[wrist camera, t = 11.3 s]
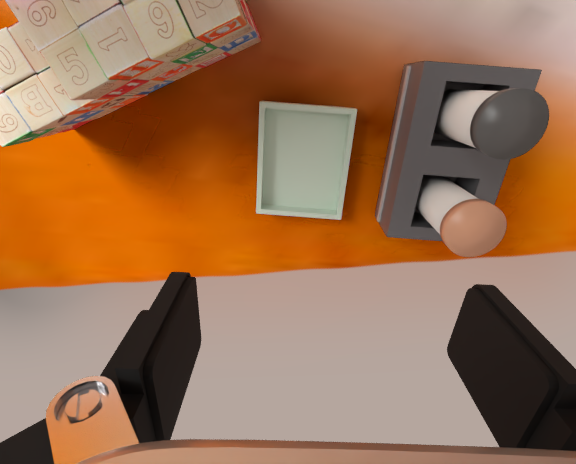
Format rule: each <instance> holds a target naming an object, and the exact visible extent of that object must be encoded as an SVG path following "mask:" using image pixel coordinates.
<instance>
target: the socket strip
mask: <svg viewBox="0 0 576 464" xmlns="http://www.w3.org/2000/svg"><path fill="white" fill-rule="evenodd" d="M541 71H542V70H537V69H524V68H511V67H498V66H485V65H471V64H458V63H445V62H432V61H422V62H416V63H410V64H405V65H404V67H403V73H402V78H401V83H400V88H399V93H398V98H397V103H396V109H395V114H394V119H393V124H392V129H391V134H390V140H389V145H388V150H387V155H386V160H385V165H384V171H383V176H382V181H381V186H380V191H379V196H378V201H377V207H376V212H375V217H376V219H377V221H378V222H379V224H380V226H381V228H382V229H383V231H384V233H385V235H386V236H387V237H395V238H408V239H421V240H434V241H442V239H441V236H440V234H439V233H438V232H437V231H436V230H435V229H434V228H433V227H432V225H431V224H430V223H429V222H428V221H427V220H426V219H425V218H424V217H423V216H422V215H421V214H420V212H419V211H418V210H417V209H416V208H415V207H416V203H417V198H418V194H419V190H420V186H421V182H422V178H423V175H435V176H444V177H446V178H447V179H449V180H450V181H452V182H453V183H455V184H456V185H458V186H460V187H461V188H463V189H464V190H466V191H467V192H469V193H470V194H472V195H473V196H475V197H477V198H478V199H482V200H485V201H488V202H490V203H491V204H493V205H494V204H495V201H496V198H497V195H498V193H499V190H500V187H501V184H502V181H503V178H504V176H505V173H506V170H507V167H508V164H509V161H510V159H506V160H501V159H495V158H492V157H490V156H487V155H485V154H483V153H481V152H479V151H478V150H477V149H476V148H474V147H472V146H469V145H466V144H464V143H461V142H458V141H455V140H453V139H450V138H447V137H445V136H442V135H439V134H437V133H435V132H434V130H435V126H436V122H437V117H438V113H439V109H440V105H441V101H442V97H443V93H444V91H446V90H450V89H459V90H484V91H501V90H504V89H510V88H520V89H530V90H533V91H535V88H536V85H537V82H538V79H539V77H540V74H541Z"/></svg>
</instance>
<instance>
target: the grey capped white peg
mask: <svg viewBox="0 0 576 464" xmlns="http://www.w3.org/2000/svg"><path fill="white" fill-rule="evenodd" d="M548 120H549V109H548V105H547V103H546V101H545V99H544V98H543V97H542V96H541V95H540V94H539V93H538V92H536V91H533V90H530V89H520V88H510V89H504V90H501V91H484V90H459V89H450V90H446V91H444V93H443V97H442V101H441V105H440V109H439V113H438V117H437V122H436V126H435V130H434V132H435V133H437V134H439V135H442V136H445V137H447V138H450V139H453V140H455V141H458V142H461V143H464V144H466V145H469V146H472V147H474V148H476V149H477V150H478V151H479V152H481V153H483V154H485V155H487V156H490V157H492V158H495V159H501V160H506V159H512V158H516V157H518V156H521V155H523V154H524V153H526V152H528V151H529V150H530V149H532V148H533V147H534V146H535V145H536V144H537V143H538V142H539V140H540V139H541V138H542V136H543V134H544V132H545V130H546V128H547V125H548Z"/></svg>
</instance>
